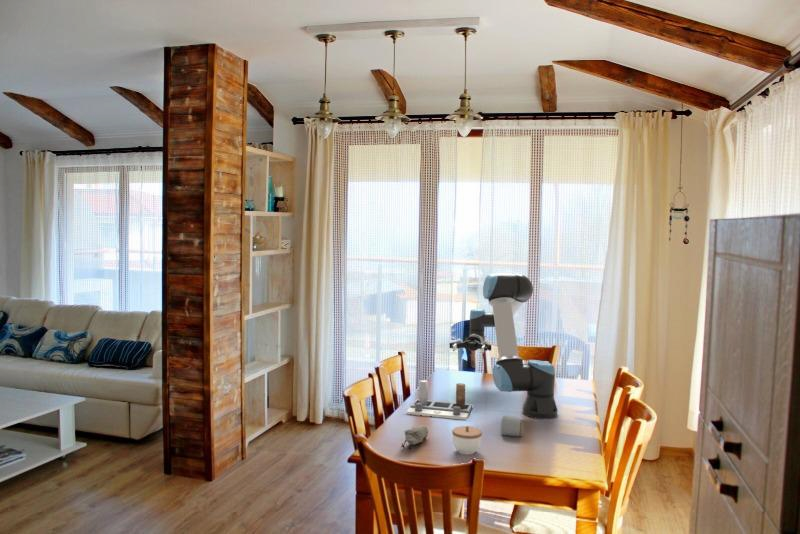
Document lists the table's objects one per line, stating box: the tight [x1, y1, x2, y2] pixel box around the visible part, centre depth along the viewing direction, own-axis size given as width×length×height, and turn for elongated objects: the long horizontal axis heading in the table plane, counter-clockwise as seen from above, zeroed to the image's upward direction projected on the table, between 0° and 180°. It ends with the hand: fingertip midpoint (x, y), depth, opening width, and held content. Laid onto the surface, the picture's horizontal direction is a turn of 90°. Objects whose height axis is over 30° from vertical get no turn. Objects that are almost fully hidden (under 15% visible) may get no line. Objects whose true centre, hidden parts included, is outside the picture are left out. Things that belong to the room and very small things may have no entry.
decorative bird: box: [401, 424, 429, 451], centre depth 225 cm, size 5×16×7 cm, turn 150°
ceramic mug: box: [500, 414, 524, 438], centre depth 238 cm, size 11×8×8 cm
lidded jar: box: [452, 425, 483, 456], centre depth 218 cm, size 11×11×9 cm
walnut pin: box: [455, 382, 466, 410], centre depth 267 cm, size 4×4×12 cm
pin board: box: [409, 379, 473, 415], centre depth 269 cm, size 26×11×12 cm, turn 75°
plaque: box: [406, 403, 469, 421], centre depth 261 cm, size 26×6×4 cm, turn 75°
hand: (467, 349), depth 281 cm, fingers open, 13 cm apart
